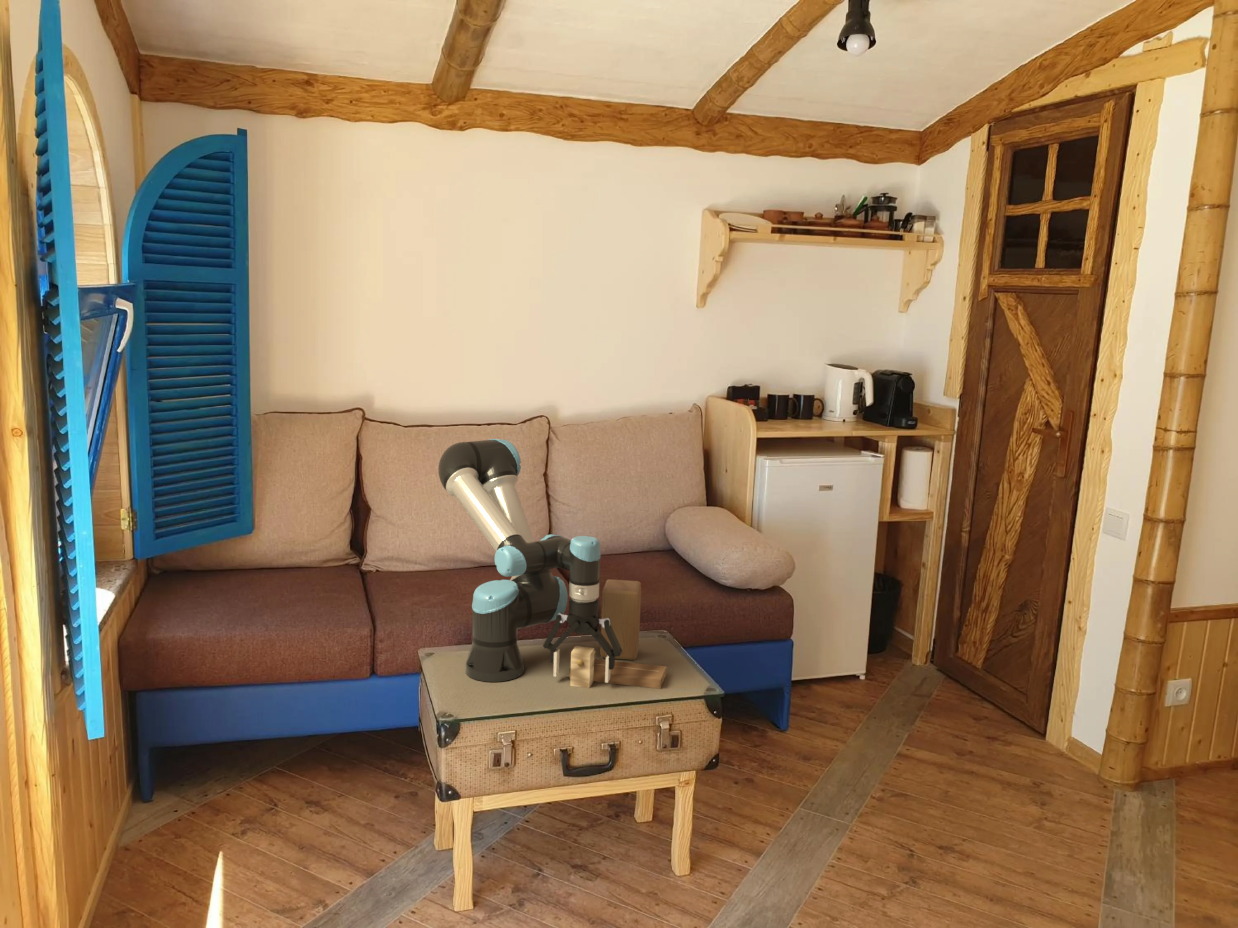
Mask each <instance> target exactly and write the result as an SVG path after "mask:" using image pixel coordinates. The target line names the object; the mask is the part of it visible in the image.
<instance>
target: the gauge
mask: <svg viewBox="0 0 1238 928" xmlns="http://www.w3.org/2000/svg"><path fill="white" fill-rule="evenodd" d="M596 657H597V651H596V650H595V647H588V646H578V645H575V646H574V647H573V649H572V650H571V652H570V668H571V677H570V678H569V680H570V683H569V684H570V685H569V686H570V687H579V688H587V689H590V687H591V686H592V685H593V683H594V681H593V680H594V659H596Z"/></svg>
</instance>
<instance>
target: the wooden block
mask: <svg viewBox="0 0 1238 928" xmlns="http://www.w3.org/2000/svg"><path fill="white" fill-rule="evenodd" d="M601 594H602V596H601V618H600V619H606V618H607V617H609V618H610V619H611V626H612V629H613V631H614V633H615V635H616V638H617V640H618V642H619V644H620V646H621V649H622V653H621V655H620V656H616V657H615V660H617V659H618V660H631V661H634V660H636V659H637V656H638V651H639V647H640V633H641V630H640V626H641V602H642V583H641V582H640V581H639V580H625V579H606V581H605V584H604V585H603V588H602V593H601ZM600 625H601V624H600ZM600 628H601V629H600V632H601V634H602V635H603V636H604V638H605V639H606V640H607V642H608V643H609V644H610V646H611V647H612V645H611V643H610V641H609V638H608V636H607V634H606V632H605V628H603V627H602V625H601V627H600ZM612 648H613V647H612ZM599 652H600V658H604V659H606V657H607V654H606V652H605V651H604V650H603V648H602V647H601V646H600V651H599Z"/></svg>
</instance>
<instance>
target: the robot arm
mask: <svg viewBox="0 0 1238 928" xmlns="http://www.w3.org/2000/svg"><path fill="white" fill-rule="evenodd" d="M521 463H522V461H521V456H520V454H519V451H518V449H517V448H516V446H515V445H514V444H513V443H512V442H511V441H509V440H506V439H502V438H501V439H498V438H497V439H496V438H490V439H485V440H475V441H462V442H461V441H460V442H456V443H454V444H451V445H450V446H449V447H448V448H446V450H444V452H443V453H442V455H441V457H440V459H439V461H438V469H437V470H438V477H439V481H440V483H441V485H442V487H443V489H444V490H445V491H446V492H447V494H448V495H449V496H451V497H454V498H456V500H457V501H458V502H459V504H460V505H461V506H462V508H463V509H464V510H465V512H466V513H467V514H468V516H469V517H470V518H471V520H472V522H473V523H474V525H476V527H477V528H478V530H480V532H481V533H482V535H483V536H484V537H485V539H486V540H487V541H488V543H489V544H490V545H491V547H492V548H493V550H494V551H495V554H494V565H495V566H496V570H497V572H498V573H499V574H500V575H501V576H503V577H507V578H508V577H511V578H510V579H500V580H498V579H496V580H490V581H487V582H484V583H481V584H480V585H478V586H477V587H476V588H475V590H474V591H473V595H472V604H471V608H472V644H471V646H470V649H469V652H468V654H467V657H466V661H465V669H464V670H465V674H466V676H468V677H469V678H471V679H474V680H476V681H481V682H487V683H488V682H489V683H491V682H493V683H496V682H507V681H511V680H513V679H516V678H519V677H520V676H521V675H522V674H523V673H524V667H525V666H524V665H525V663H524V660H523V657H522V654H521V650H520V647H519V645H518V644H519V643H518V630H519V629H520V630H521V629H524V628H528V627H534V626H537V625H540V624H541V625H542V624H548V623H550V622H553V621H555V623H554V625H553V626H552V629H551V630H550V632H549V634H548V636H547V637H546V639H545V641H544V643H543V645H542V648H544V649H545V650H546V649H547V650H549V652H550V653H549V661H550V663H551V664H553V675H552V677H555V678H556V677H557V676H558V675H559V673H560V651H561V650H560V648H558V647H559V646H561V645H562V643H564V641H565V640H566V639H567V638H568V637H569V636H570V635H571V634H572V633H573V632H574V633H576V635H582V634H583V635H585V636H589V635H591V636H592V638H594V639H595V641H596V642H597V644H599V646H600V648H601V647H602V648H603V650H604V651H605V652H606V654H607V657H606V658H605V660H606V666H605V682H604V683H606V684H609V683H608V682H609V680H610V669H611V670H613V668H614V666H615V661H616V659H615V657H616V656H620V655H621V653H622V649H621V646H620V644H619V642H618V640H617V638H616V635H615V633H614V631H613V629H612V626H611V619H610V618H609V617H607V618H606V619H601V618H600V616H599V609H600V608H599V607H600V605H599V604H600V602H599V601H600V599H598V598H599V597H600V572H601V555H602V554H601V542H600V540H599V539H598V538H596V537H595V536H589V535H577V536H575V537H572V538H571V539H569V538H566V537H564V536H562V535H558V534H553V533H552V534H546V535H545V536H544V537H543V538H541V539H540V540H538V541H535V539H534V537H533V535H532V534H533V533H532V531H531V528H530V525H529V522H528V519H527V517H526V513H525V511H524V507H523V505H522V502H521V499H520V496H519V494H518V493H519V492H518V490H517V488H516V484H517V483H518V480H519V477H518V476H519V475H520V473H521V469H522V467H521ZM557 568H561V569H563V570H566V571H568V572H569V586H568V587H569V589H567V586H566V583H565V582H564V580H563V579H561V578H560V577H559V576H556V575H553V573H552V570H551V569H557ZM568 596H569V598H568ZM567 605H568V615H567V614H564V613H566V609H567ZM565 621H566V622H567V623H568V624H569V627H568V628H566V629H567V630H565V631H564V632H563V633H562V634H561V635H560V637H559V638H558V639H557V640H556V641H554V643H552V641H553V639H554V638H555V636H556V634H557V632H558V630H559V629H560V627H561V625H562V624H564V623H565ZM599 625H602V627H603V628H605V632H606V634H607V636H608V638H609V641H610V643H611V645H612V647H613V648H612V647H611V646H610V644H609V643H608V642H607V640H606V639H605V638H604V636H603V635H602V634H601V629H599Z"/></svg>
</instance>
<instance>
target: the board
mask: <svg viewBox="0 0 1238 928" xmlns="http://www.w3.org/2000/svg"><path fill="white" fill-rule="evenodd" d="M605 666H606V659H601V658H595V659H594V680H593V682H600V683H605ZM568 670H569V671H568V672H569V675H568V678H569V679H570V677H571V667H570V668H569V669H568ZM666 677H667V666H664V665H663V666H662V665H654V664H647V663H645V664H644V663H637V662H630V661H629V662H627V661H619V660H615V666H614V668H613V670H611V669H610V680H609V682H608V683H607V684H613V685H614V684H616V685H624V686H631V687H640V688H641V687H642V688H650V689H659V690H661V689H662V685H663V683H664V681H665V678H666Z"/></svg>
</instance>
